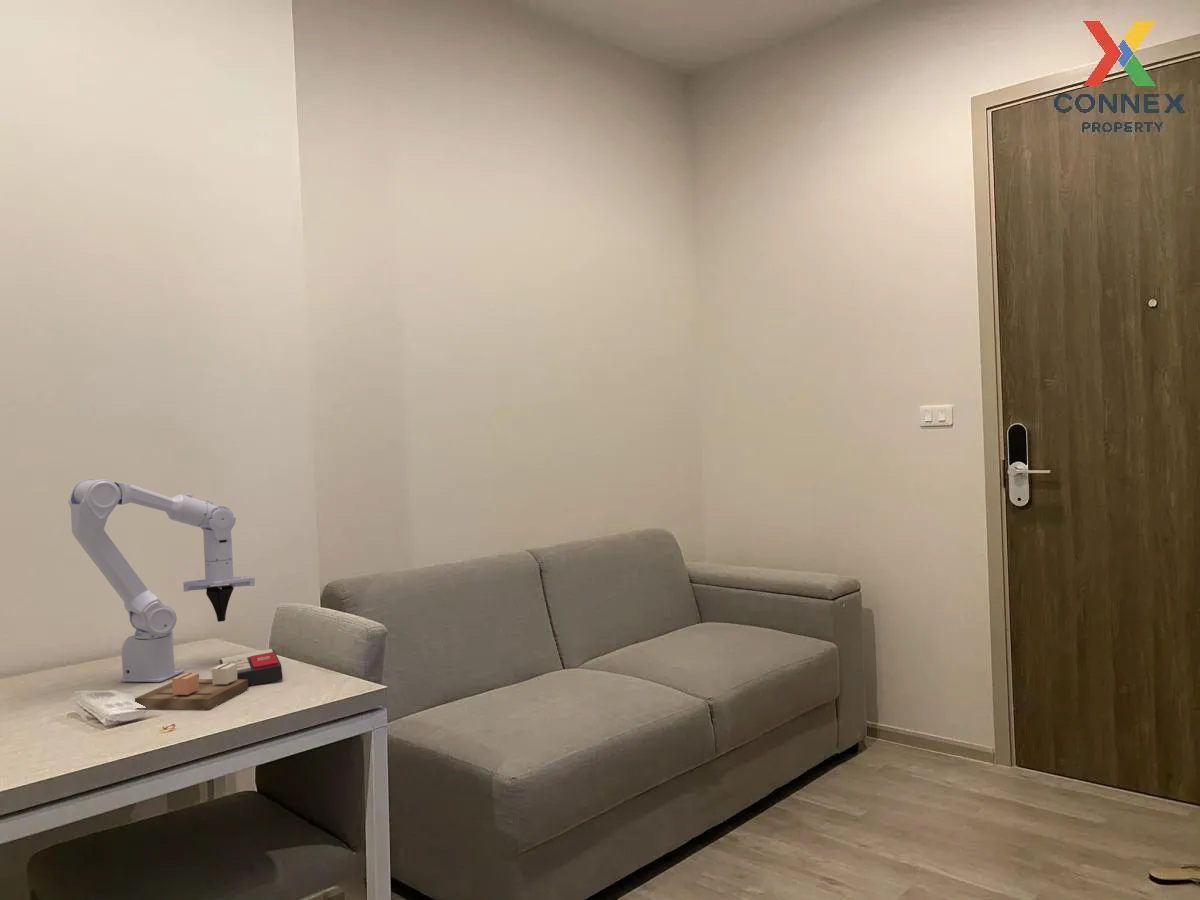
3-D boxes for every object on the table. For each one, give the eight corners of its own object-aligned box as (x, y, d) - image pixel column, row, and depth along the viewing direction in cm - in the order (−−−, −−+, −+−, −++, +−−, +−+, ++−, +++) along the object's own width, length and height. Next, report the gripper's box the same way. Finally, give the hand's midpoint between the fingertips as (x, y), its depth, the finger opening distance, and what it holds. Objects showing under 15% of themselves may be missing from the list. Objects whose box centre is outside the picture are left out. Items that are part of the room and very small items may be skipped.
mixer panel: (135, 709, 167) (134, 697, 167) (179, 688, 180) (178, 678, 180) (208, 710, 165) (208, 698, 165) (248, 689, 178) (247, 678, 178)
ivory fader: (212, 684, 174) (211, 668, 174) (223, 678, 177) (222, 663, 177) (226, 684, 173) (226, 668, 173) (237, 679, 177) (236, 663, 177)
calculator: (222, 672, 178) (218, 656, 191) (225, 694, 178) (221, 675, 191) (281, 661, 182) (273, 645, 196) (283, 682, 183) (275, 665, 196)
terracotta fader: (172, 694, 167) (172, 678, 167) (185, 689, 171) (184, 672, 171) (187, 694, 167) (186, 678, 167) (199, 689, 170) (198, 672, 170)
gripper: (180, 564, 194) (183, 627, 194) (251, 559, 198) (254, 620, 198) (185, 560, 201) (188, 621, 201) (254, 555, 205) (257, 614, 205)
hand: (221, 620), depth 200 cm, fingers closed
